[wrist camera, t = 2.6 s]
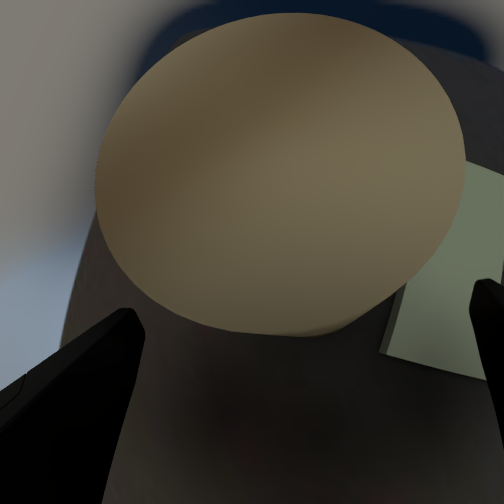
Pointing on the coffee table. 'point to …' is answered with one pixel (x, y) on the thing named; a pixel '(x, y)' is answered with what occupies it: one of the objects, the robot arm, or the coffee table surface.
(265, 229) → the beech leg
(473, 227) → the sage board
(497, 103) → the coffee table surface
